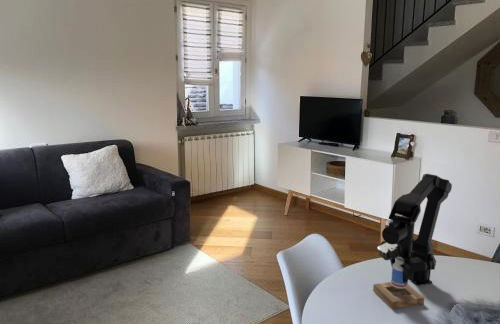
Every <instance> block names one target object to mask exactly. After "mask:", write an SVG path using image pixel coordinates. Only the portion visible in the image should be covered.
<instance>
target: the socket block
mask: <svg viewBox="0 0 500 324" xmlns="http://www.w3.org/2000/svg"><path fill="white" fill-rule="evenodd" d="M372 287H373V289H372V291H373V292H374V293H375V295H377V296H378V297H379V298H380V299H381V300H382V301H383V302H385V304H386V305H388V307H389V308H390V309H392V310H393V309H400V308H409V307H416V306H423V305H425V297H424V296H423V295H422V294H420V293H419V292H418V291H417V290H415V289H414V288H413V287H412V286H411V285H410V284H408V285H407V287H406V288H403V289H401V288H396V287H394V286H392V284H391V281H390V282H381V283H375V284H373V286H372ZM400 292H401V294H403V295H400V296H395V295H394V293H400Z"/></svg>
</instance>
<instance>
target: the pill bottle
mask: <svg viewBox="0 0 500 324" xmlns="http://www.w3.org/2000/svg"><path fill="white" fill-rule="evenodd" d="M404 261H405V260H404V259H401V258H400V257H396V258H395V263H394V264H393V266H391V279H390V282H391V284H392V286H394V287H396V288H401V289H403V288H406V287H407V285H409V284H408V283H409V280H408V281H407V282H406V283H404V282H403V268H402V267H401V266H400V265H403V264H404Z"/></svg>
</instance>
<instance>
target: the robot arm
mask: <svg viewBox="0 0 500 324" xmlns="http://www.w3.org/2000/svg"><path fill="white" fill-rule="evenodd" d="M452 187H453V185H452V183H451V182H450V180H449V179H446V178H442V177H440V176H438V175H435V174H431V173H424V174H422V178H421V180H420V181H419V182H418V183H417V184H416V185H415V186H414V187H413V188H412V190H411V191H410V192H409V193H406V194H402V195H401V196H399V197H398V198H397V199H396V200H395V201H394V203H393V205H392V208H391V211H390V213H389V215H388V220H391V221H390V222H389V223H388V226H386V227H384V229H383V230H382V232H381V236H382V239H383V240H382V241H381V242H380V244H379V245H378V246H377V251H378V254H379V257H381V258H382V259H383V260H385V261H390V265H391V267H392V266H393V264H394V263H395V258H396V257H400V258H401V259H404V260H405V261H404V264H403V265H400V266H401V267H402V268H403V282H404V283H406V282H407V281H408V282H409V280H410V281H412V283H414V284H415V285H418V286H421V285H427V284H429V285H430V284H433V281H432V280H430V279H431V271H432V270H433V271H434V270H436V265H437V264H436V263H437V260H436V258H435V256H434V251H435V250H434V247H433V244H432V240H433V236H434V232H435V228H436V224H437V220H438V217H439V213H440V208H441V205H442V203H443V202H444V201H445V200H447V199H448V197H449V194H450V193H451V191H452V189H453V188H452ZM424 200H426V205H425V208H424V213H423V216H422V219H421V224H420V228H419V232H418V234H417V238H416V239H414V232H415V226H416V225H415V223H416V222H417V221H418V218H419V216H420V214H421V205H422V204H423V202H424Z"/></svg>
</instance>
